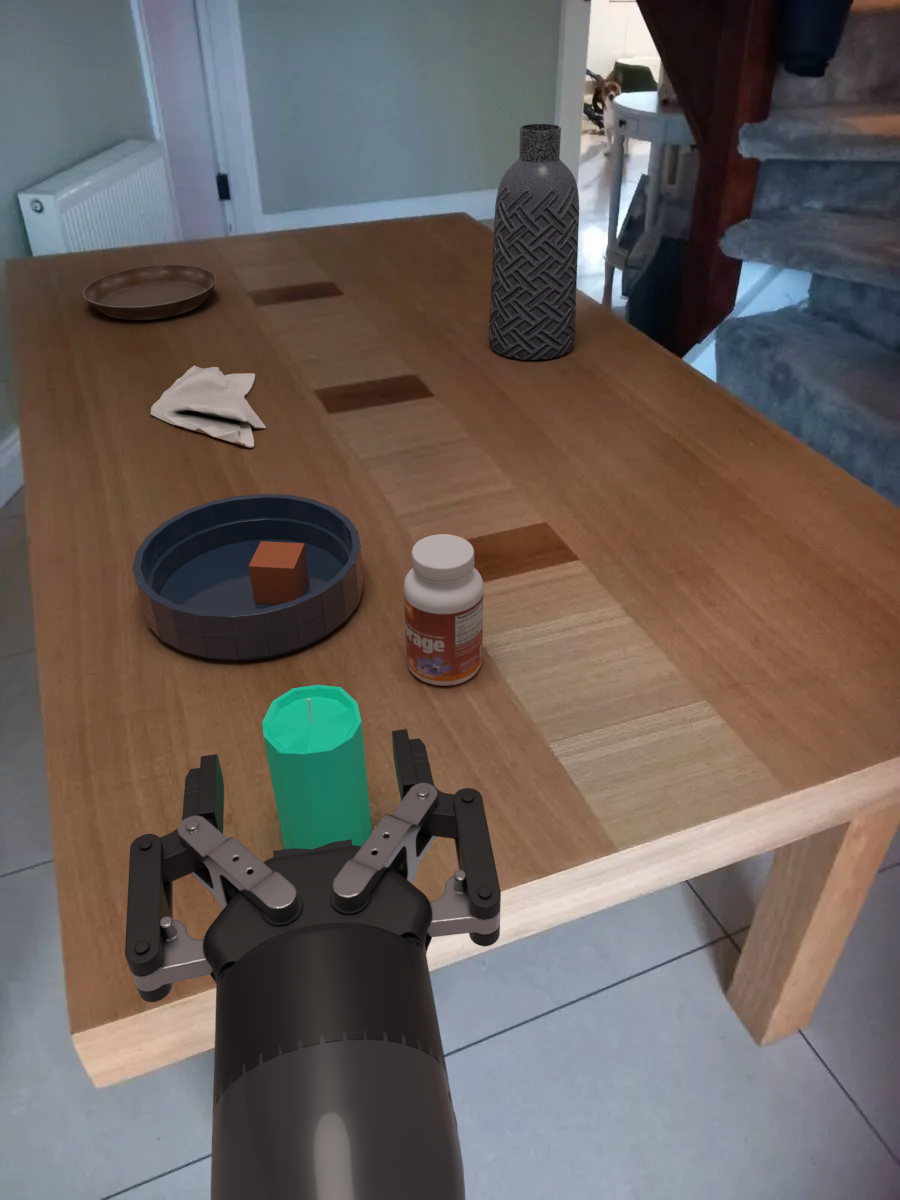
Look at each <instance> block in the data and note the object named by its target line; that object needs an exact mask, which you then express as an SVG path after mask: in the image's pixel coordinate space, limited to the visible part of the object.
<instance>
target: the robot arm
mask: <svg viewBox="0 0 900 1200" xmlns="http://www.w3.org/2000/svg"><path fill="white" fill-rule="evenodd" d="M391 741H392V743H391V744H392V755H393V763H394V770H395V774H396V775H395V776H396V781H397V786H398V792H399V796H400V797H399V798H400V803H398V805H397V807H396V808H395V809H394V810H393V812H392V814H389V813H386V814H384V816H383V817H382V818H381V820H379V822H378V823H377V825H376V826H375V828H374V829H372V833H371V835H370V836H369V837H368V839H367V840H366V841H365V843H364V844H363V846H362V847H361V846H356V845H352V840H344V841H338V842H332V843H329V844H326V845H324V846H321V847H318V848H315V849H297V848H291V849H285V850H284V849H280V850H273V852H272V853H273V857H271V858H268V859H266V860H265V861H262V860H261V859H260V858H258V857H257V856H256V855H255V854H254V853H253V852H252V851H251V850H249V849H248V848H247V847H246V846H245V845H243V843H242V842H240V841H239V840H238V839H237V838H235V837H234V836H230V837H229V838H228V837H227V836H226V835H224V813H225V810H224V809H225V782H224V776H223V771H222V767H221V763H220V759H219V755H218V753H214V754H207V755H201V756H200V762H199V763H200V765H199V767H195V768H190V769H189V771H188V772H187V774H186V776H185V778H184V788H183V789H184V790H183V803H182V804H183V805H182V816H181V817H182V818H181V821H180V822H179V824H178V826H177V828H175V830H173V831H171V832H170V833H167V834H165V835H162V836H159V835H157V834H154V833H146V834H142V835H139V836H138V837H136V838H135V839H134V840H133V841H132V842H131V844H130V847H129V861H128V862H129V865H128V882H127V883H128V885H127V902H126V921H125V923H126V924H125V943H124V944H125V945H124V956H125V959H126V961H127V964H128V967H129V970H130V973H131V976H132V979H133V981H134V984H135V986H136V989H137V991H138V994H139V996H140V998H141V1000H143V1001H145V1002H146V1003H147V1002H148V1003H156V1002H159V1001H161V1000H164V999H165V998H166V997H167V996H168V995H169V994H170V993H171V991H172V989H173V983H177V982H182V981H187V980H191V979H196V978H200V977H204V976H209V975H210V976H211V978H212V980H213V981H214V983H215V985H216V986H215V988H216V990H215V1021H214V1022H215V1025H214V1057H213V1059H214V1060H213V1061H214V1062H213V1086H212V1087H213V1089H212V1096H213V1097H212V1118H211V1119H212V1120H211V1121H212V1123H211V1125H212V1126H211V1159H210V1160H211V1161H210V1200H467V1198H466V1184H465V1170H464V1169H465V1168H464V1161H463V1154H462V1147H461V1141H460V1136H459V1131H458V1122H457V1117H456V1112H455V1109H454V1103H453V1097H452V1093H451V1092H452V1091H451V1088H450V1087H451V1086H450V1081H449V1080H450V1079H449V1073H448V1069H447V1064H446V1057H445V1052H444V1048H443V1047H444V1045H443V1041H442V1036H441V1030H440V1025H439V1019H438V1013H437V1008H436V1001H435V996H434V991H433V986H432V985H433V984H432V980H431V979H432V978H431V973H430V967H429V963H428V958H427V957H428V956H427V953H428V949H429V946H430V943H431V942H432V939H433V938H436V937H437V938H438V937H446V936H455V935H464V934H468V935H469V938H470V940H471V941H472V942H473V944H475V945H477V946H480V947H489V946H492V945H493V944H495V943H496V942H498V940H499V938H500V935H501V902H502V892H501V886H500V882H499V877H498V872H497V866H496V862H495V861H496V860H495V856H494V851H493V847H492V840H491V835H490V830H489V825H488V819H487V815H486V810H485V805H484V799H483V796H482V794H481V793H480V791H478V790H477V789H475V788H472V787H464V788H461V789H458V790H457V791H456V792H455V793H446V792H443V791H441V790H439V789H438V788H437V787H436V785H435V782H434V778H433V774H432V769H431V765H430V761H429V756H428V751H427V747H426V744H425V743H424V742H423V741H422V740H421V739H420V738H410V737H409V732H408V728H403V729H402V728H401V729H396V730H391ZM437 837H438V838H445V839H451V840H454V845H455V852H456V859H457V865H458V869H457V870H456V871H455V872H454V873H453V875H452V876H450V877H449V878H447V880H446V882H445V884H444V892H443V894H442V895H441V897H439V898H438V899H437V900H434V901H430V900H429V898H428V897H427V895H426V894H425V893H424V892H422V890H420V889H419V888H418V887H417V886H415V885H414V884H413V882H414V880H415V879H416V876H417V873H418V869H419V865H420V864H421V862H422V861H423V858H424V857H425V855H426V854H427V853H428V851H429V849H430V848H431V846H432V845H433V844H434V842H435V840H436V839H437ZM188 875H191V876H192V877H193V878H194V879H195V880H196V881H198V883H199V884H200V885H202V887H204V888H205V889H206V890H207V891H208V892H209V893H210V894H211V895H212V896H213V897H214V898H215V900H216V902H217V904H218V906H219V908H221V911H220V912H219V914H218V915H217V917H216V918H215V919H214V920H213V922H212V923H211V924H210V925H209V926H208V928H207V930H206V932H205V934H204V937H203V938H202V939H201V938H200V939H198V938H194V937H192V936H191V935H190V934H189V932H188V930H187V927H186V925H185V923H184V922H183V921H181V920H179V919H174V917H173V915H174V913H173V912H174V911H173V910H174V908H173V907H174V905H173V904H174V902H173V900H174V886H173V885H174V881H177V880H179V879H182V878H184V877H186V876H188Z"/></svg>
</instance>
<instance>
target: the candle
mask: <svg viewBox="0 0 900 1200" xmlns="http://www.w3.org/2000/svg"><path fill="white" fill-rule="evenodd" d="M261 723H262V724H261V725H262V734H263V740H264V746H265V752H266V757H267V762H268V767H269V774H270V777H271V779H270V780H271V784H272V791H273V795H274V801H275V806H276V811H277V817H278V822H279V828H280V833H281V839H282V844H283V845H282V846H283V850H285V849H291V848H297V849H315V848H318V847H321V846H324V845H326V844H329V843H332V842H338V841H344V840H352V845H356V846H361V847H362V846H363V844H364V843H365V841H366V840H367V839H368V837H369V836H370V835H371V833H372V832H373V828H372V818H371V808H370V807H371V806H370V797H369V796H370V795H369V787H368V786H369V785H368V776H367V775H368V774H367V766H366V754H365V753H366V752H365V741H364V734H363V733H364V731H363V721H362V717H361V713H360V708H359V705H358V702H357V700H355V699H354V698H353V697H352V695H350V694H349V693H348V692H347V691H346V690H345V689H343V687H341V686H334V685H323V684H314V685H307V686H299V687H293V688H291V689H290V690H288V691H286V692H284V694H282V695H280V696H278V697H277V698H275V699H274V700H272V701H271V703H270V706H269V707H268V709H267V711H266V713H265V716H264V717H263V719H262V722H261Z"/></svg>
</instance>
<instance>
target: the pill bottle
mask: <svg viewBox="0 0 900 1200" xmlns="http://www.w3.org/2000/svg"><path fill="white" fill-rule="evenodd" d="M480 573H481V572H479V571H478V569H476V567H475V550H474V547H473V545H472V543H471V542H469V541H468V540H467V539H465V538H463V537H461V536H458V535H454V534H449V533H441V534H440V533H439V534H438V533H437V534H432V535H429V536H425V537H422V538H421V539H419V540H418V541H416V542H415V543H414V545H413V547H412V550H411V569H410V570H409V571H408V572H407V574H406V576H405V578H404V582H403V604H404V624H405V625H404V627H405V651H406V653H405V654H406V656H405V657H406V664H407V667H408V669H409V671H410V672H411V673H412V675H413V676H414V677H416V678H417V679H419V680H420V681H422V682H424V683H426V684H430V685H435V686H445V687H446V686H455V685H460V684H462V683H464V682H466V681H468V680H470V679H471V678H473V677H474V676H475V675H476V674H477V673H478V671H479V670H480V668H481V666H482V661H483V632H484V631H483V630H484V596H485V595H484V594H485V593H484V592H485V591H484V590H485V589H484V580H483V577H482V575H481V574H480Z"/></svg>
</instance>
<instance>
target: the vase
mask: <svg viewBox="0 0 900 1200" xmlns="http://www.w3.org/2000/svg"><path fill="white" fill-rule="evenodd" d="M561 138H562V127H561V126H560V125H556V124H550V123H530V124H524V125H522V126H520V128H519V146H518V147H519V148H518V159H516V161H515V162H514V163H512V164H511V166H509V168H507V170H506V171H505V172H504V174H503V176H502V177H501V179H500V182H499V185H498V188H497V193H496V198H495V204H494V205H495V206H494V219H493V220H494V222H493V223H494V224H493V242H492V259H491V281H490V297H489V298H490V300H489V301H490V302H489V303H490V304H489V320H488V342H489V346H490V348H491V349H492V351H494V352H495V353H497V354H499V355H501V356H503V357H505V358H506V357H507V358H510V359H516V360H522V361H523V360H524V361H540V360H542V361H543V360H549V359H550V360H551V359H555V358H558V357H561V356H564V355H566V354H567V353H569V352H570V351H571V350H572V349H573V346H574V343H575V337H576V336H575V335H576V316H577V315H576V314H577V313H576V312H577V287H578V284H577V283H578V260H579V259H578V256H579V227H580V226H579V225H580V195H579V188H578V184H577V180H576V177H575V176H574V174H573V172H572V171H571V169H570V168H569V167H568V166H567V165H566V164H565V163H564V162H563V161H562V159H561V158H560V156H561Z"/></svg>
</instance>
